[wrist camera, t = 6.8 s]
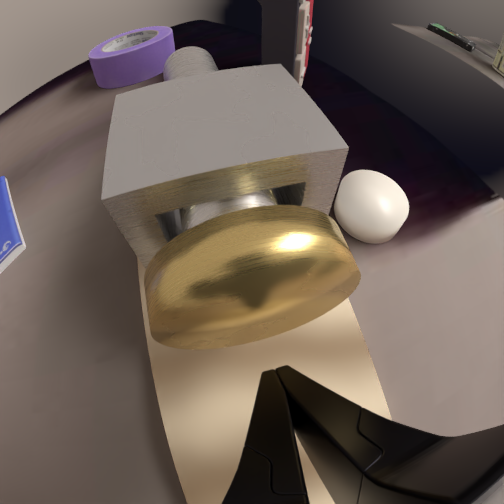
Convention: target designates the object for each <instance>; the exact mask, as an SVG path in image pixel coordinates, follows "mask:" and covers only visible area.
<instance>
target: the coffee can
mask: <svg viewBox="0 0 504 504" xmlns="http://www.w3.org/2000/svg"><path fill="white" fill-rule="evenodd" d="M492 67H493V68H494V69H495V70H496V71H497V72H498V73H499V74H501V75H502V76H503V77H504V34H503V37H502V40H501V43H500V46H499V49H498V52H497V55H496V57H495V60H494V63H493V65H492Z"/></svg>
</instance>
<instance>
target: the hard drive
mask: <svg viewBox="0 0 504 504" xmlns="http://www.w3.org/2000/svg"><path fill="white" fill-rule="evenodd" d="M25 248H26V245H25V242H24V239H23V236H22V233H21V230H20V227H19V224H18V220H17V217H16V213H15V210H14V206H13V203H12V199H11V195H10V191H9V187H8V183H7V179H6V178H5V176H1V177H0V274H1V273H2V272H3V270H4V269H5V268H6V267H7V266H8V265H9V264H10V263H11V262H12V261H13V260H14V259H15V258H16V257H17V256H18V255H19V254H20V253H21V252H22V251H23V250H24V249H25Z"/></svg>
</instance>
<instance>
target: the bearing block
mask: <svg viewBox="0 0 504 504" xmlns="http://www.w3.org/2000/svg"><path fill="white" fill-rule="evenodd" d="M348 149H349V147H348V146H347V144H346V143H345V141H344V140H343V139H342V137H341V136H340V135H339V133H338V132H337V131H336V129H335V128H334V127H333V125H332V124H331V123H330V122H329V120H328V119H327V118H326V116H325V115H324V114H323V113H322V111H321V110H320V109H319V108H318V106H317V105H316V104H315V103H314V101H313V100H312V99H311V98H310V97H309V95H308V94H307V93H306V92H305V91H304V90H303V88H302V87H301V86H300V85H299V84H298V83H297V81H296V80H295V79H294V78H293V77H292V76H291V75H290V74H289V72H288V71H287V70H286V69H285V68H284V67H283V66H282V65H281V64H270V65H259V66H250V67H241V68H234V69H227V70H220V71H214V72H208V73H202V74H197V75H192V76H187V77H182V78H178V79H173V80H169V81H165V82H161V83H157V84H153V85H149V86H145V87H142V88H138V89H135V90H131V91H128V92H125V93H122V94H118V95H116V98H115V103H114V108H113V113H112V119H111V124H110V130H109V136H108V143H107V150H106V158H105V166H104V175H103V185H102V196H101V200H102V202H103V204H104V205H105V207H106V209H107V210H108V212H109V214H110V215H111V217H112V218H113V220H114V222H115V223H116V225H117V226H118V228H119V230H120V231H121V233H122V234H123V236H124V237H125V239H126V240H127V242H128V243H129V245H130V246H131V248H132V249H133V251H134V252H135V254H136V255H137V257H138V258H139V260H140V261H141V263H142V264H143V266H144V267H145V269H146V268H147V266H148V264H149V262H150V261H151V260H152V258H153V257H154V256H155V254H156V253H157V252H158V251H159V250H160V249H161V248H162V247H164V246H165V245H166V244H167V243H168V242H170V241H171V240H172V239H174V238H175V237H176V236H178V235H180V234H181V233H183V232H182V226H181V220H180V213H179V209H181V208H185V207H189V206H194V205H198V204H202V203H206V202H211V201H215V200H219V199H224V198H228V197H233V196H237V195H242V194H247V193H251V192H256V191H261V190H266V189H271V188H272V190H273V192H274V195H275V197H276V199H277V202H278V204H279V205H296V206H304V207H309V208H312V209H316V210H319V211H321V212H323V213H325V214H327V215H329V212H330V209H331V205H332V202H333V199H334V196H335V193H336V190H337V186H338V183H339V180H340V176H341V173H342V170H343V166H344V163H345V160H346V156H347V153H348Z"/></svg>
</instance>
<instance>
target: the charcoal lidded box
mask: <svg viewBox="0 0 504 504" xmlns="http://www.w3.org/2000/svg"><path fill="white" fill-rule="evenodd" d="M258 2H259V3H260V4H261V6H262V65H270V64H281V65H282V66H283V67H284V68H285V69H286V70H287V71H288V72H289V74H290V75H291V76H292V77H293V78H294V79H295V80H296V81H297V83H298V84H299V85H300V86H302V83H303V79H304V75H305V72H306V68H307V64H308V54H309V45H310V42H311V37H310V34H311V31H312V27H311V22H312V11H313V0H258Z"/></svg>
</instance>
